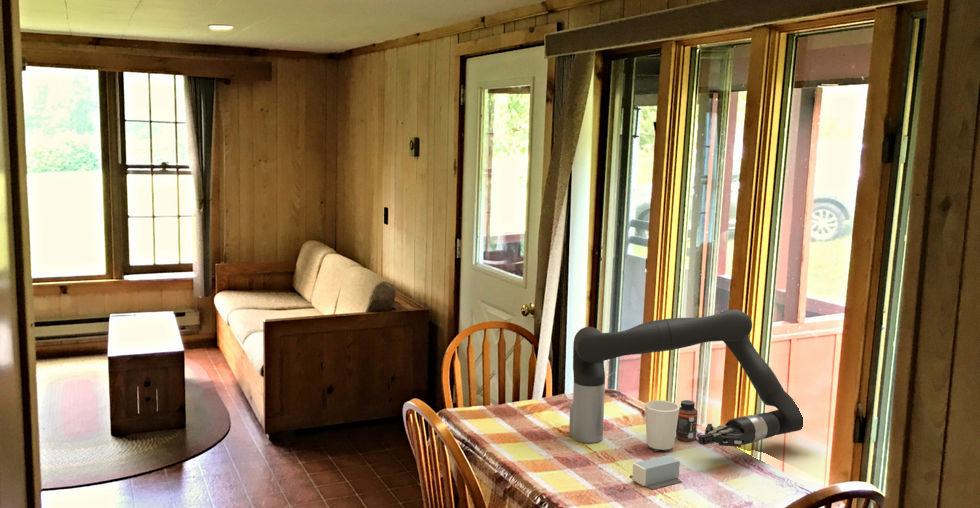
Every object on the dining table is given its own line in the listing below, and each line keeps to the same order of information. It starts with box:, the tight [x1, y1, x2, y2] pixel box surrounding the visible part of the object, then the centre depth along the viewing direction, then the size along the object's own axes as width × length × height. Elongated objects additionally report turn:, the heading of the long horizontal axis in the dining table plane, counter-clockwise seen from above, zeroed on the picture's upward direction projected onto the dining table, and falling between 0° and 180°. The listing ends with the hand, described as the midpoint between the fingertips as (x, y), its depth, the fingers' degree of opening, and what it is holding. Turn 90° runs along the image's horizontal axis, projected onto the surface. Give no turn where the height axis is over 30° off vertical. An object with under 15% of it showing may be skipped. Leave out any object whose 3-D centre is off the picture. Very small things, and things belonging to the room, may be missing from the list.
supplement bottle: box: [675, 399, 698, 442], centre depth 243 cm, size 6×6×11 cm
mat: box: [629, 474, 683, 491], centre depth 214 cm, size 9×10×1 cm
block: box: [631, 454, 681, 487], centre depth 214 cm, size 4×4×12 cm
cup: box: [644, 399, 680, 453], centre depth 236 cm, size 10×10×13 cm
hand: (700, 440), depth 220 cm, fingers closed
